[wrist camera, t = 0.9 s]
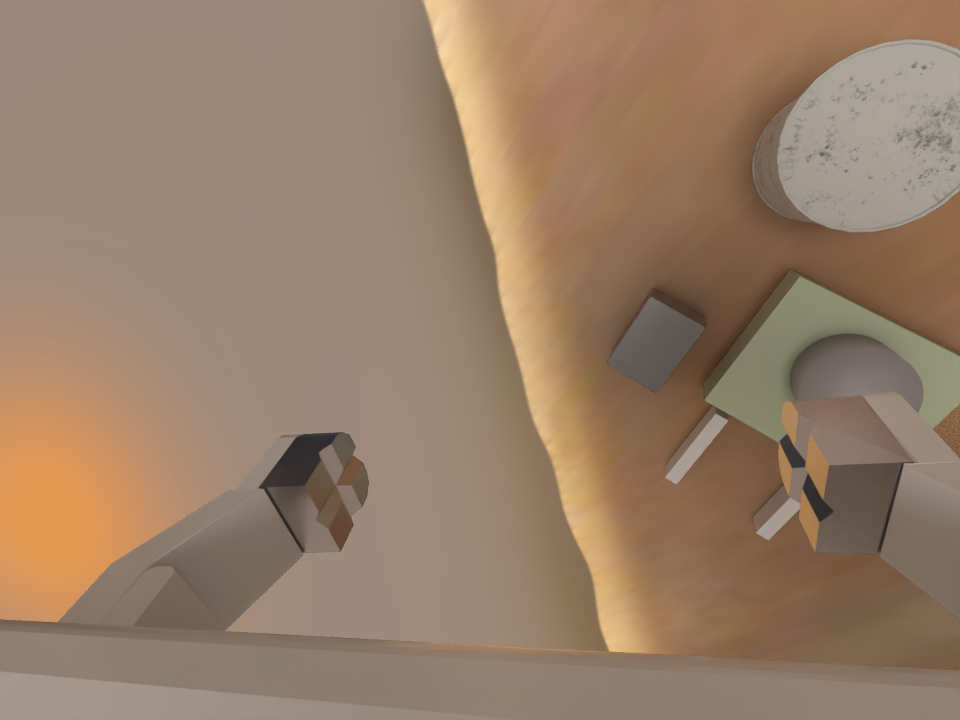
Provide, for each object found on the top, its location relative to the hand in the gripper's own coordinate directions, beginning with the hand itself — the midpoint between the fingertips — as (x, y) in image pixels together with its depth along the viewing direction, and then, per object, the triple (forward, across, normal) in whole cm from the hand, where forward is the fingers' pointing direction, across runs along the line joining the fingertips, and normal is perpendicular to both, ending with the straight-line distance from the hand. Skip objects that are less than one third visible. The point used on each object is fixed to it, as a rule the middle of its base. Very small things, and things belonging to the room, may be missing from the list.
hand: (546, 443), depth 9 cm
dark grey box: (+35, +5, -18) cm, 40 cm away
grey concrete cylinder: (+37, +18, -5) cm, 41 cm away
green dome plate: (+31, +15, -25) cm, 43 cm away
